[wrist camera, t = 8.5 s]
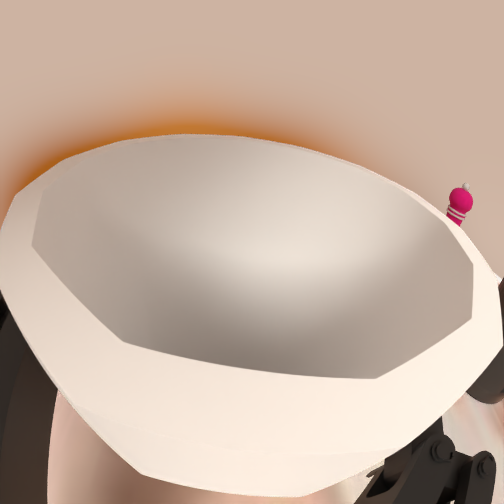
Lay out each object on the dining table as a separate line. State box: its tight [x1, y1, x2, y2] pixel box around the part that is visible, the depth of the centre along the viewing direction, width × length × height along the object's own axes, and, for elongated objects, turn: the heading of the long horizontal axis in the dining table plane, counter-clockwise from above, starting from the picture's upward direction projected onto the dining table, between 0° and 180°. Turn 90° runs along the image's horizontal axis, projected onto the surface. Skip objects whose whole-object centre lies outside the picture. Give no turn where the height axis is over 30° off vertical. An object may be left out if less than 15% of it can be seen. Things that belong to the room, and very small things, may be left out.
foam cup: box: [0, 134, 503, 497], centre depth 9 cm, size 10×9×13 cm
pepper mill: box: [446, 183, 473, 227], centre depth 50 cm, size 7×7×20 cm
